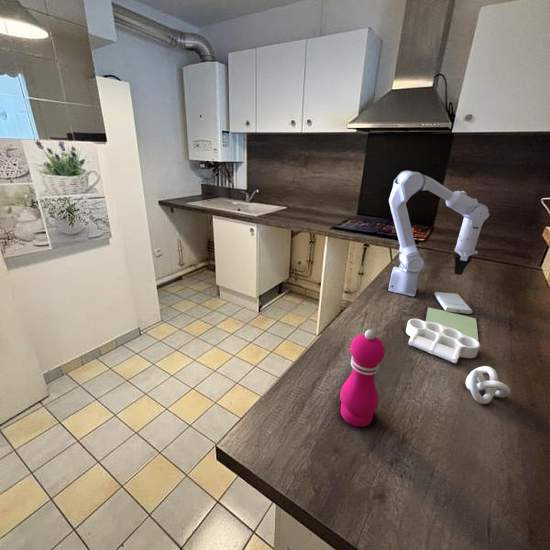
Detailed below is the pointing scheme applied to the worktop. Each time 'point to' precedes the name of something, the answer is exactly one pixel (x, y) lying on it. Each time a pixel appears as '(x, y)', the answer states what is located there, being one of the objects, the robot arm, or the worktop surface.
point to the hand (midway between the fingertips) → (457, 273)
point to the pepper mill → (362, 380)
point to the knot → (486, 385)
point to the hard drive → (452, 303)
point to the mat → (453, 321)
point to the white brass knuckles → (441, 340)
